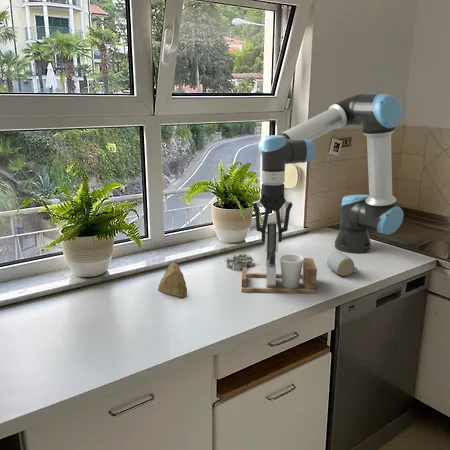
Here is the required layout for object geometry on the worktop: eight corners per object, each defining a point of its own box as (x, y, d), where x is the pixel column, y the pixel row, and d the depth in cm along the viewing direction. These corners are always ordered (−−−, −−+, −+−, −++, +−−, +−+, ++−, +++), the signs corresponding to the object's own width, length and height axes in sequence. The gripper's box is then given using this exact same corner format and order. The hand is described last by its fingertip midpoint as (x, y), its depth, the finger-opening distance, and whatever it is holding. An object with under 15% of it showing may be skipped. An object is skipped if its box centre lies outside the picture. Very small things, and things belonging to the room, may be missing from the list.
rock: (196, 289, 152) (188, 275, 161) (181, 273, 148) (173, 259, 156) (170, 310, 152) (163, 295, 161) (154, 295, 148) (148, 280, 156)
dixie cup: (285, 291, 157) (286, 263, 154) (274, 282, 164) (275, 255, 161) (307, 287, 160) (308, 260, 157) (294, 278, 167) (295, 252, 164)
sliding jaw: (274, 278, 167) (275, 220, 161) (275, 289, 157) (277, 228, 151) (265, 277, 167) (267, 220, 161) (266, 289, 157) (268, 228, 151)
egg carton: (235, 272, 174) (235, 261, 173) (222, 266, 180) (222, 256, 179) (255, 265, 181) (256, 255, 180) (243, 260, 186) (243, 250, 185)
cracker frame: (311, 277, 168) (312, 256, 166) (316, 293, 155) (317, 271, 152) (242, 276, 169) (242, 255, 167) (241, 291, 156) (241, 269, 154)
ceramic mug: (338, 278, 167) (339, 258, 165) (325, 270, 174) (327, 251, 172) (362, 275, 171) (364, 255, 169) (349, 267, 178) (351, 248, 176)
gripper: (248, 185, 149) (247, 253, 156) (298, 185, 148) (295, 254, 155) (248, 180, 156) (247, 246, 163) (296, 181, 155) (293, 247, 162)
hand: (271, 250), depth 159 cm, fingers closed on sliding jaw, 3 cm apart
